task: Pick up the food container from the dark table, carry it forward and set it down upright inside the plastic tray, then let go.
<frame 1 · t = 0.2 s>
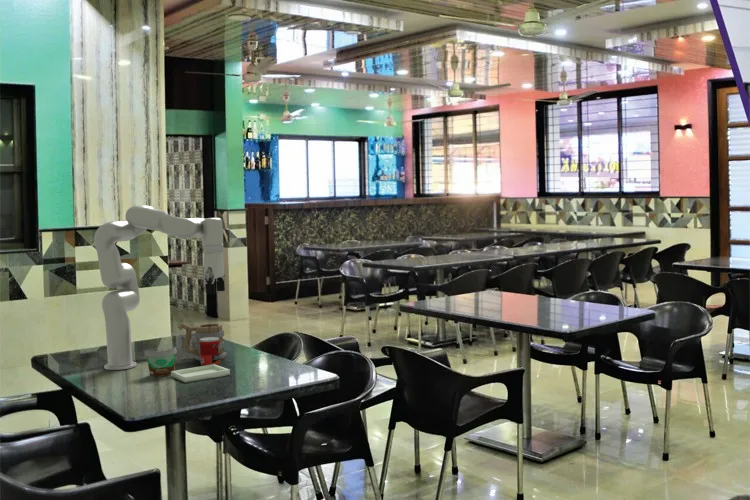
hand: (216, 292, 307), 31 cm above the table, tool pointing down, fingers open, 9 cm apart
canned food: (210, 365, 317), on the table
tankard: (202, 358, 333), on the table
food container: (163, 375, 303), on the table
tray: (200, 375, 299), on the table
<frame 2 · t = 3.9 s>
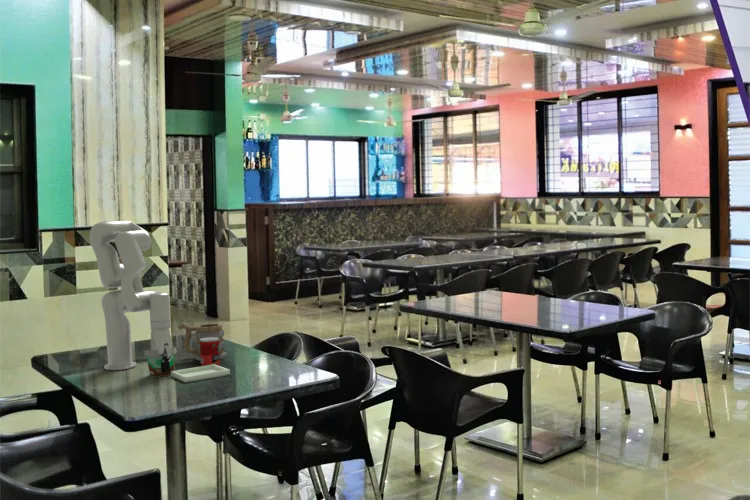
hand: (162, 370, 303), 2 cm above the table, tool pointing down, fingers closed on food container, 5 cm apart
food container: (163, 375, 302), on the table, touching gripper
everything else where it was.
when the fingers open (4 cm above the table, at t = 10.2 s): food container drops 2 cm, resting on tray.
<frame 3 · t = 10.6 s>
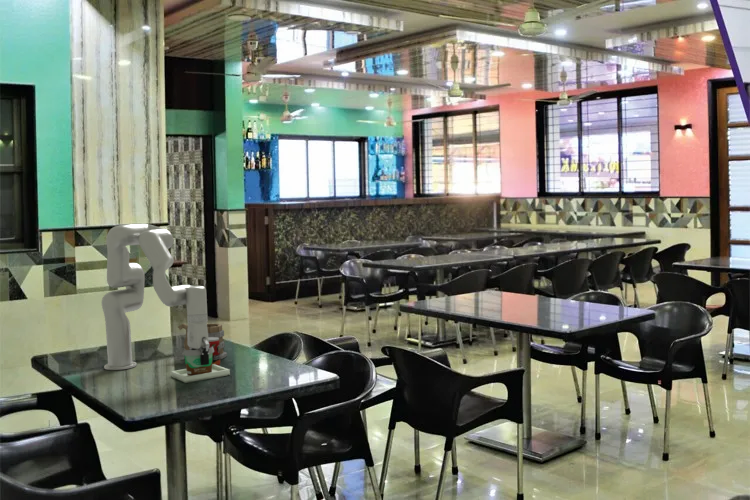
hand: (199, 362, 298), 5 cm above the table, tool pointing down, fingers open, 9 cm apart
food container: (201, 375, 297), point 1 cm above the table, touching tray
everything else where it was.
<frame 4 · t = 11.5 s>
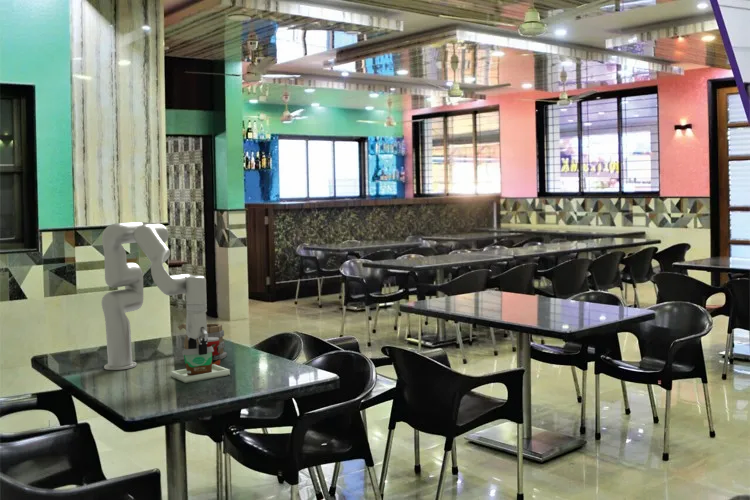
hand: (197, 352, 298), 9 cm above the table, tool pointing down, fingers open, 9 cm apart
nothing on the table moved.
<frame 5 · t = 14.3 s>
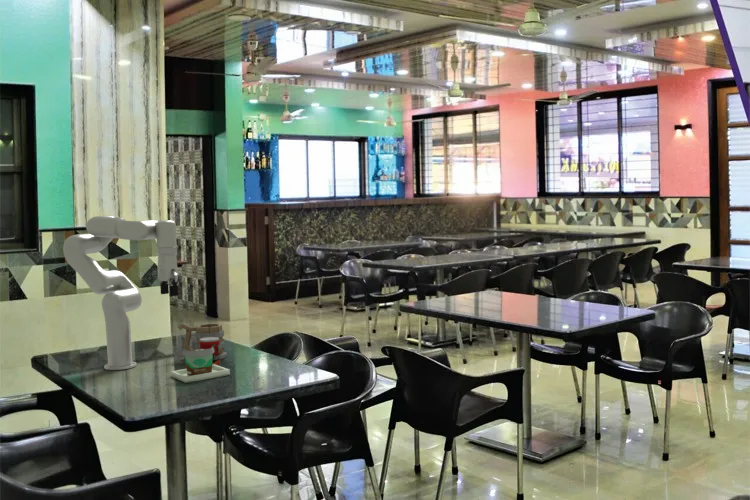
hand: (169, 294, 308), 30 cm above the table, tool pointing down, fingers open, 9 cm apart
at the end: food container inside the target area on the tray (1.6 cm from its centre), point 0.4 cm above the tray's base; food container tilted 0°; the gripper is holding nothing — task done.
